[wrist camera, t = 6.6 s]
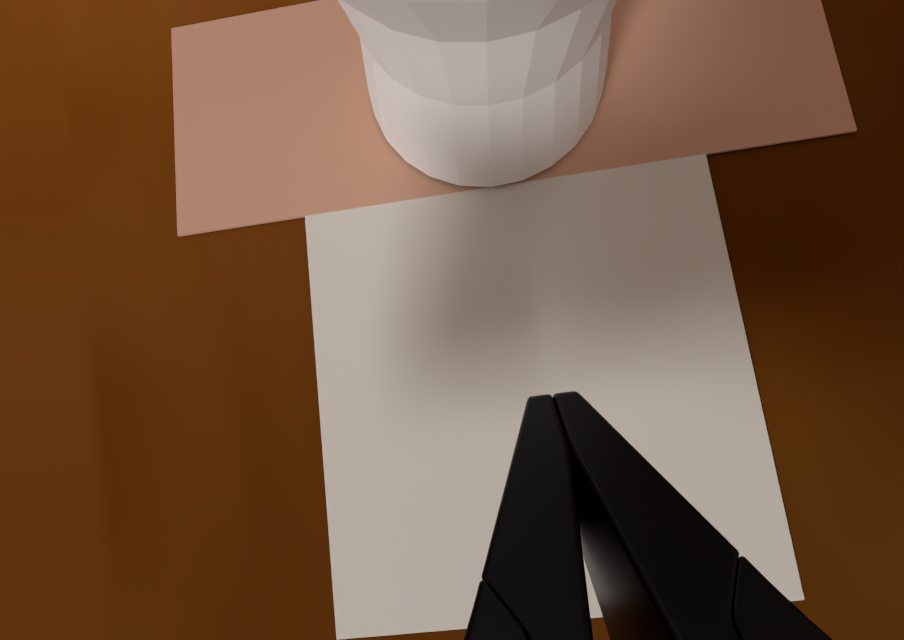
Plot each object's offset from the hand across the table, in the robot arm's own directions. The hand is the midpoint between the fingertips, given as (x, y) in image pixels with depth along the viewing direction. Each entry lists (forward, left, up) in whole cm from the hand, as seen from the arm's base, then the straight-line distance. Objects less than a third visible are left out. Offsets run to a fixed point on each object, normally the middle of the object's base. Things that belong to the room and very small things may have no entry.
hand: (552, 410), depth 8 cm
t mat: (+3, +3, -6) cm, 8 cm away
